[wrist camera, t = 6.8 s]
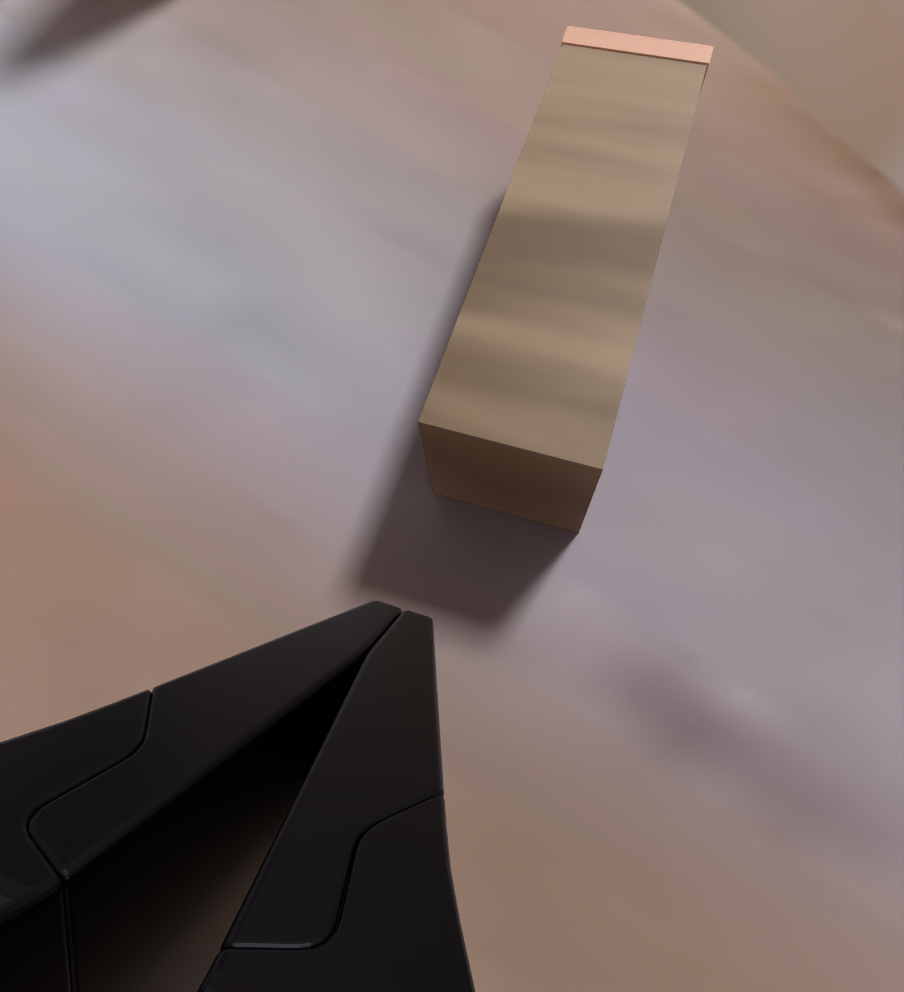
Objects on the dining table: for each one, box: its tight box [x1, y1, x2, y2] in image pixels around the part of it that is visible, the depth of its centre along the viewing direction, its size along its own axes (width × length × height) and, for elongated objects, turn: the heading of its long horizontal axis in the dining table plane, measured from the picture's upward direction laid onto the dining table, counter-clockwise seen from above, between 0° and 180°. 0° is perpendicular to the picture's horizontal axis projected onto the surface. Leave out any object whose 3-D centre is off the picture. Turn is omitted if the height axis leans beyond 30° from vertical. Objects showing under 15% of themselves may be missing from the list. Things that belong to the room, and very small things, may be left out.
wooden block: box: [418, 26, 714, 533], centre depth 20 cm, size 5×5×15 cm
